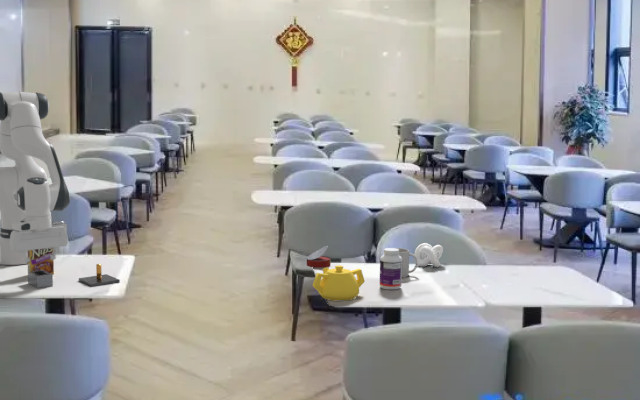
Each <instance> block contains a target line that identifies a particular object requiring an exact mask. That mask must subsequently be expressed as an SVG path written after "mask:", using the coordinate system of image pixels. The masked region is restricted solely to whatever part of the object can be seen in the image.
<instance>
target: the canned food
mask: <svg viewBox="0 0 640 400" xmlns="http://www.w3.org/2000/svg"><path fill="white" fill-rule="evenodd" d="M329 247H330V246H329V245H326V246H325V245H324V246H323V247H321V248H319V249H317V250H315V251H313V252H312V253H310V254H309V255H308V256H307V257H306V266H307V267H308V268H309V267H310V268H314V269H315V268H318V269H319V268H321V269H323V268H329V267H331V264H332V263H331V257H329V256H327V255H325V254H326V252H327V251H328V248H329Z"/></svg>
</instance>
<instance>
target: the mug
mask: <svg viewBox="0 0 640 400" xmlns="http://www.w3.org/2000/svg"><path fill="white" fill-rule="evenodd" d="M395 248H396V249H399V254H398V255H399V256H401V257H402V278H407V277H409V274H411V273H413V272H414V271H416V269H417V267H418V265H417V258H416V257H415V255H414V253H411V252H410V249H407V248H404V247H403V248H402V247H395ZM410 256H411V257H413V260H414V259H415V260H414V262H415V261H416V262H415V266H414V267H413V269H410Z"/></svg>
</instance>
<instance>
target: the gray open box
mask: <svg viewBox="0 0 640 400" xmlns="http://www.w3.org/2000/svg"><path fill="white" fill-rule="evenodd" d="M53 275H54V274H53ZM53 275H52V274H51V273H49V272H47V271H45V270H37V271H29V272H28V271H27V281H28V282H27V283H28V285H31V286H32V287H34V288H36V289H42V288H50V287H53V285H54V279H53V277H54V276H53Z"/></svg>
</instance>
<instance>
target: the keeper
mask: <svg viewBox="0 0 640 400" xmlns="http://www.w3.org/2000/svg"><path fill="white" fill-rule="evenodd" d="M95 267H96V270H95V271H96V273H95V274H96V275H92V276H85V277H78V282H80V283H83V284H85V285H87V286H89V287H92V288H93V287H99V286H106V285H111V284H118V283H120V279H119V278H117V277H113V276H111V275H109V274H102V264H101V263H96V265H95Z"/></svg>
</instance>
